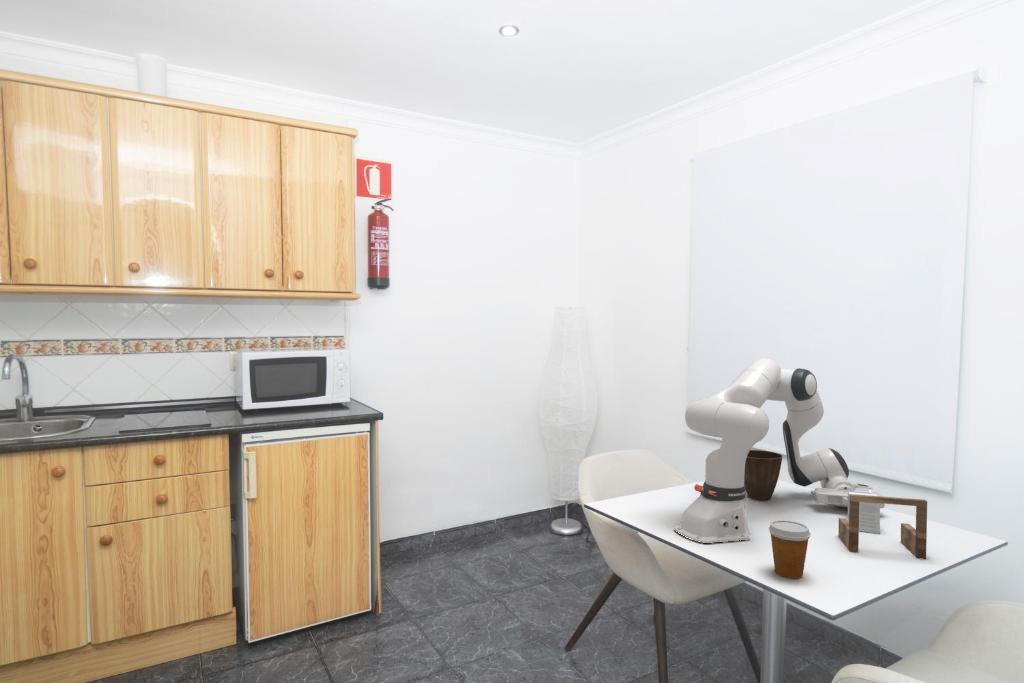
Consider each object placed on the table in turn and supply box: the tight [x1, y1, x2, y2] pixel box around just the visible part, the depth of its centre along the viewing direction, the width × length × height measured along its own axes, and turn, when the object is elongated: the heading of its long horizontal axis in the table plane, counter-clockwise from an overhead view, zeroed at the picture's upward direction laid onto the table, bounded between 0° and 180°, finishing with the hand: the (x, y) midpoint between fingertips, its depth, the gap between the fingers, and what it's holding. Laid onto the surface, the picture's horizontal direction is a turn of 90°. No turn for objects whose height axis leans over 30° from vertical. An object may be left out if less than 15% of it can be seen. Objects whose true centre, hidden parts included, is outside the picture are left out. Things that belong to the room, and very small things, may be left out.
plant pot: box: [744, 449, 783, 502], centre depth 208 cm, size 15×15×16 cm
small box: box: [847, 492, 881, 535], centre depth 176 cm, size 8×6×10 cm
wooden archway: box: [837, 494, 928, 560], centre depth 161 cm, size 12×18×16 cm, turn 74°
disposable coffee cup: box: [767, 519, 812, 580], centre depth 144 cm, size 10×10×12 cm
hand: (854, 505), depth 184 cm, fingers closed
